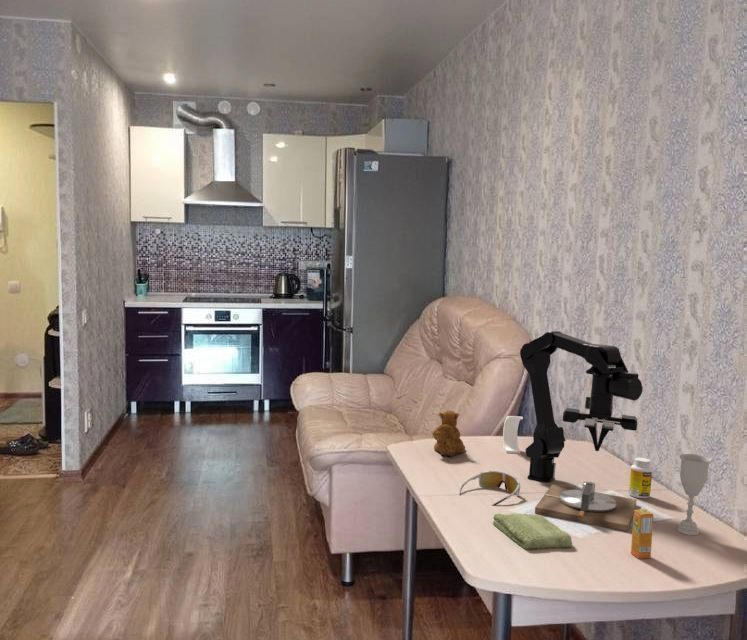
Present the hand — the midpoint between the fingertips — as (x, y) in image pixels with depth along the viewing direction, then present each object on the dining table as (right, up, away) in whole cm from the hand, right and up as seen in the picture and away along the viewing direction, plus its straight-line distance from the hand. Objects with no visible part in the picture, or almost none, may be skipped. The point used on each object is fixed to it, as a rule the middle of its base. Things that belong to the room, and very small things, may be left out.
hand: (596, 450), depth 200 cm
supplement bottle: (+13, -14, +6) cm, 20 cm away
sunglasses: (-29, -12, -1) cm, 31 cm away
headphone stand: (-15, -8, +46) cm, 49 cm away
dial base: (-5, -14, -8) cm, 16 cm away
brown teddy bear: (-36, -8, +38) cm, 53 cm away
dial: (-5, -12, -9) cm, 16 cm away
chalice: (+16, -16, -19) cm, 30 cm away
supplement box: (-2, -17, -37) cm, 40 cm away
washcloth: (-24, -15, -28) cm, 39 cm away
